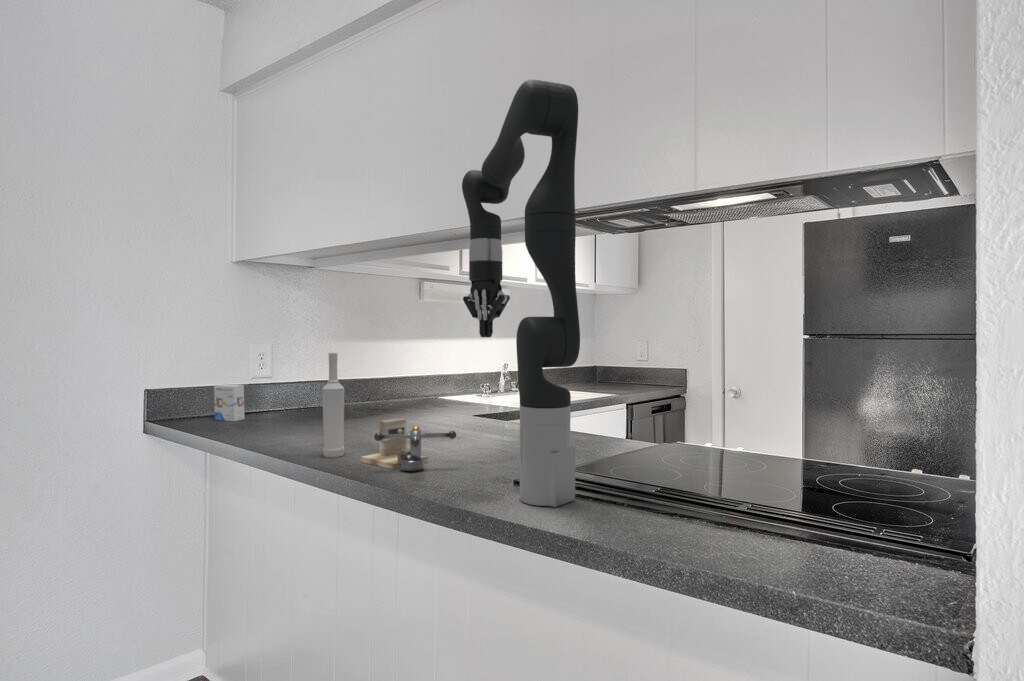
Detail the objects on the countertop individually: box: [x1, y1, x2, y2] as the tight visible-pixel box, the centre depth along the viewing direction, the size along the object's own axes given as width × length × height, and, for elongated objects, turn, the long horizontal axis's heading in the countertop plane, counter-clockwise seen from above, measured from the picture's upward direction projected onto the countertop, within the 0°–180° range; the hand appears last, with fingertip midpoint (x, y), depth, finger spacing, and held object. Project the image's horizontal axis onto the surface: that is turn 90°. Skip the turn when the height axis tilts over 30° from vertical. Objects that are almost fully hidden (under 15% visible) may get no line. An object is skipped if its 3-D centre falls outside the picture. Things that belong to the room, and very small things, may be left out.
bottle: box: [321, 352, 346, 458], centre depth 154 cm, size 5×5×25 cm
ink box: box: [213, 383, 245, 422], centre depth 212 cm, size 9×5×12 cm, turn 73°
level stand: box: [360, 418, 429, 470], centre depth 146 cm, size 14×10×9 cm
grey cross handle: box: [373, 425, 457, 472], centre depth 139 cm, size 18×18×8 cm
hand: (485, 337), depth 143 cm, fingers closed
